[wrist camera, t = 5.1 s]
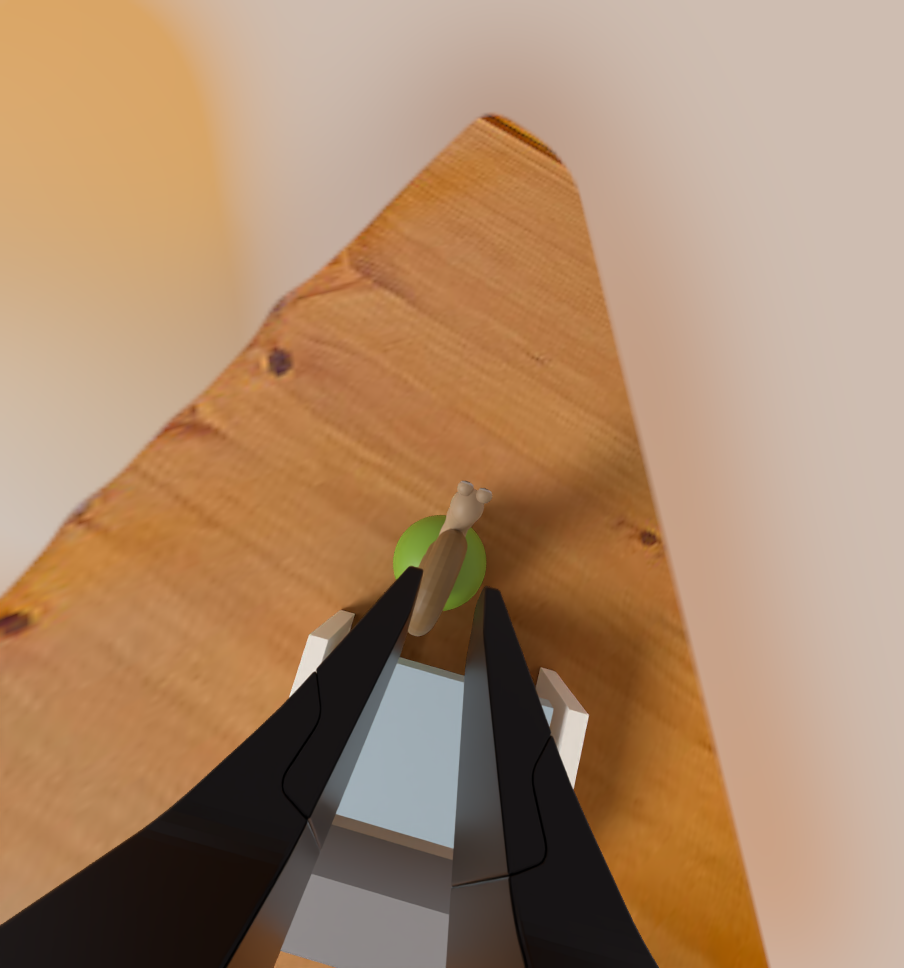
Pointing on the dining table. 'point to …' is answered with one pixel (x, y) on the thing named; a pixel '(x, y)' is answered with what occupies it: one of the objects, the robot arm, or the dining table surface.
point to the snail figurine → (444, 557)
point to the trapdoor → (398, 807)
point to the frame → (567, 709)
